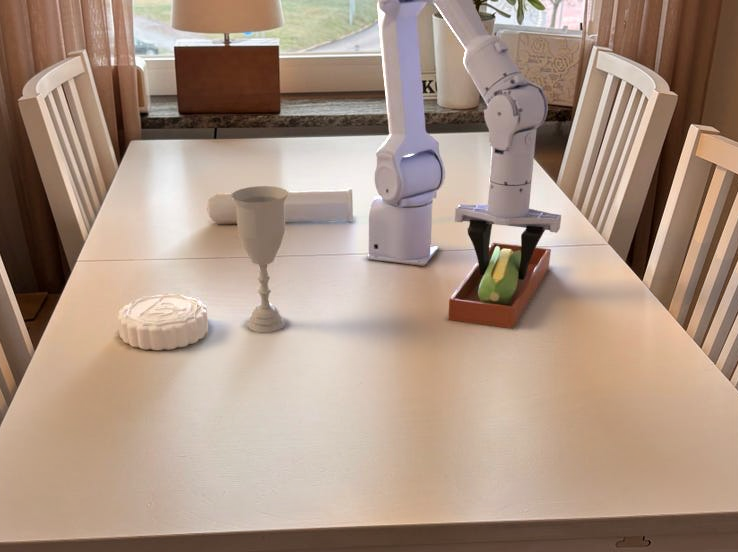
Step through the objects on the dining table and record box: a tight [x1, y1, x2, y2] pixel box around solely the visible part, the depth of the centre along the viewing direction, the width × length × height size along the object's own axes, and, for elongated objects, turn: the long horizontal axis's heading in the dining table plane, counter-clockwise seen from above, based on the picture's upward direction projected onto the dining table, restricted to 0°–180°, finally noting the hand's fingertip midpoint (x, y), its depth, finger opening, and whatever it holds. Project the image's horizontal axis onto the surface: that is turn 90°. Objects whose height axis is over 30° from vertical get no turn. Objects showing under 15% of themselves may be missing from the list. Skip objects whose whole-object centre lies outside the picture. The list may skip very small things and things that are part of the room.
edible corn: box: [478, 246, 521, 305], centre depth 148 cm, size 5×20×5 cm, turn 165°
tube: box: [206, 187, 354, 225], centre depth 177 cm, size 5×5×25 cm
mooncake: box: [117, 293, 209, 351], centre depth 139 cm, size 12×12×4 cm
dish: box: [447, 242, 552, 329], centre depth 149 cm, size 9×24×3 cm, turn 158°
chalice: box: [231, 185, 288, 333], centre depth 137 cm, size 7×7×18 cm
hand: (502, 274), depth 148 cm, fingers closed on edible corn, 5 cm apart
